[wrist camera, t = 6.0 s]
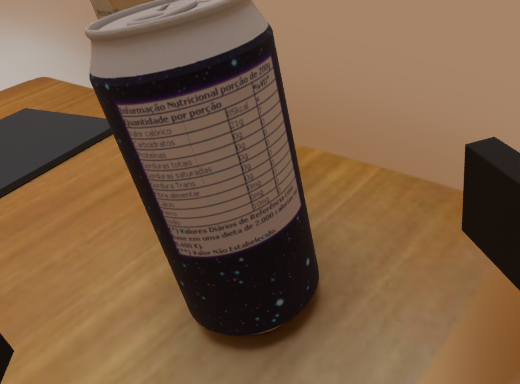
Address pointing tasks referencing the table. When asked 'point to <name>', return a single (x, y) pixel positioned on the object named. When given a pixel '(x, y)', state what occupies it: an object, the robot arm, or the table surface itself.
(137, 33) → the beverage can
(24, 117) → the slate mat
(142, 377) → the table surface
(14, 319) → the table surface
